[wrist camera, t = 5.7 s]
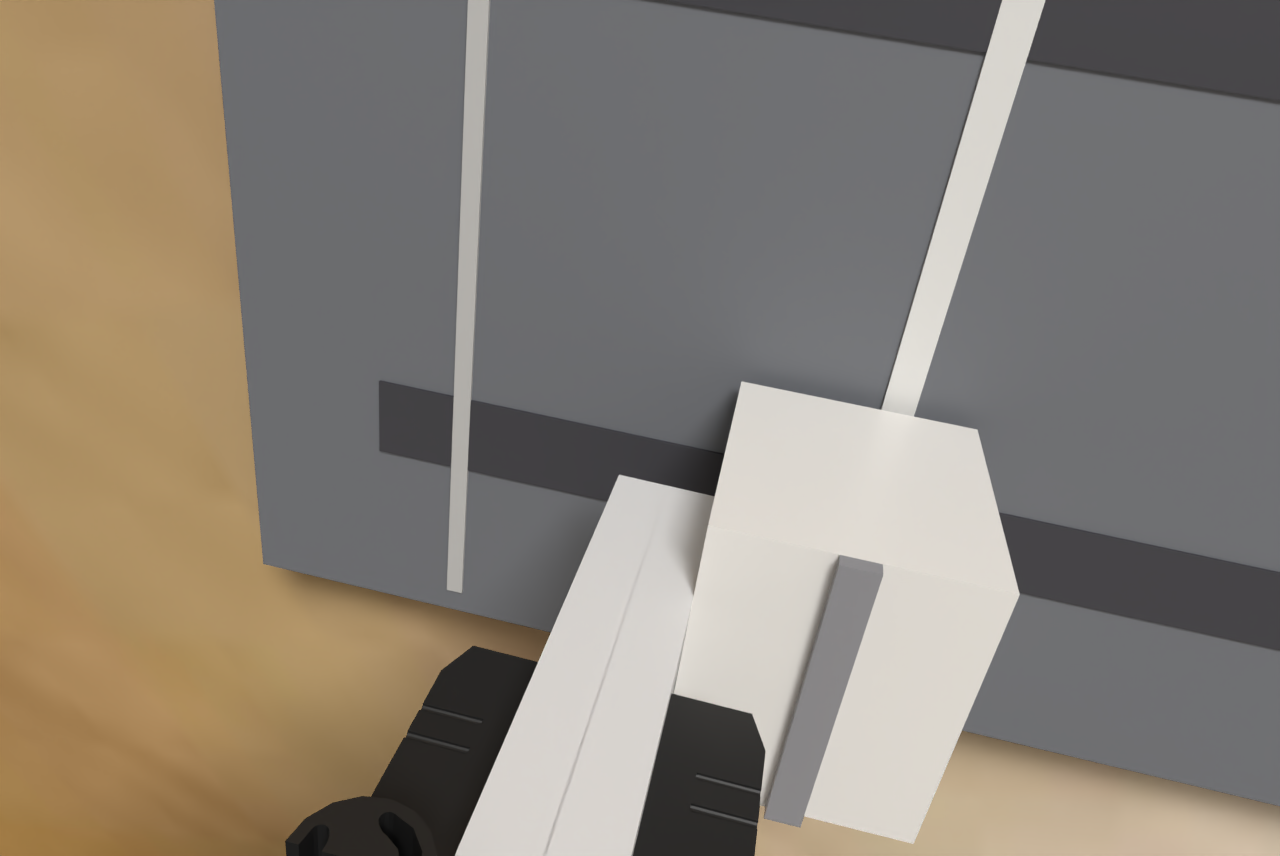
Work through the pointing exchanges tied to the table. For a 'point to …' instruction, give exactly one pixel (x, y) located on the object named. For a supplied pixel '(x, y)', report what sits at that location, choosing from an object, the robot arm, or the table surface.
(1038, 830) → the table surface
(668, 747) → the robot arm
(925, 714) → the block
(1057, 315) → the console
